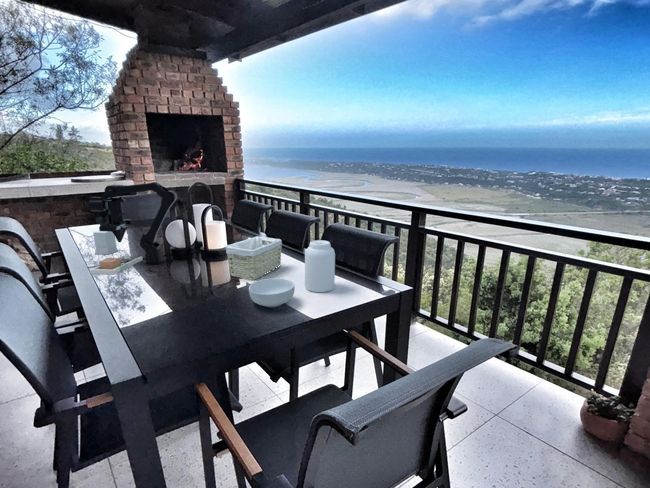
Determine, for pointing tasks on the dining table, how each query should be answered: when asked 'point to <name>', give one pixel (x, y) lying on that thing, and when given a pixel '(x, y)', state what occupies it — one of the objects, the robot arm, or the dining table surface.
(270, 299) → the cereal bowl
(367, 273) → the dining table surface
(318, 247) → the white jar
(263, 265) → the storage basket
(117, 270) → the trap lane
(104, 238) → the supplement box
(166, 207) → the robot arm
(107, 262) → the block
